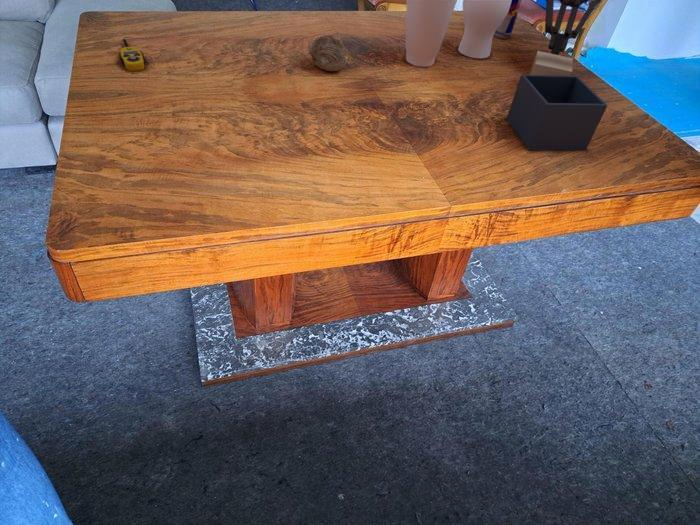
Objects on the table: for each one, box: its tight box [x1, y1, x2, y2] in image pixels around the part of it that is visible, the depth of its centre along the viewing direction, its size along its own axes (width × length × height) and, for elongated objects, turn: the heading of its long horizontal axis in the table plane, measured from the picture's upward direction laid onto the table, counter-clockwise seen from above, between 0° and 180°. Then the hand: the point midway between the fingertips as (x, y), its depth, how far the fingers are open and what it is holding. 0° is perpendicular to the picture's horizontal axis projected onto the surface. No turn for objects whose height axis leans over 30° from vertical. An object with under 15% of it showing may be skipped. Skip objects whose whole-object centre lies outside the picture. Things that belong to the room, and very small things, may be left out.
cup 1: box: [404, 0, 458, 68], centre depth 119 cm, size 12×12×16 cm
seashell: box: [307, 35, 347, 72], centre depth 114 cm, size 9×7×8 cm
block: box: [528, 50, 574, 76], centre depth 116 cm, size 8×8×7 cm
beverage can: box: [494, 0, 522, 39], centre depth 136 cm, size 5×5×15 cm
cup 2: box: [457, 0, 512, 59], centre depth 125 cm, size 11×11×16 cm
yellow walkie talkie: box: [118, 38, 146, 72], centre depth 111 cm, size 5×2×15 cm
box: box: [506, 74, 608, 151], centre depth 100 cm, size 12×12×10 cm
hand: (552, 63), depth 119 cm, fingers closed
